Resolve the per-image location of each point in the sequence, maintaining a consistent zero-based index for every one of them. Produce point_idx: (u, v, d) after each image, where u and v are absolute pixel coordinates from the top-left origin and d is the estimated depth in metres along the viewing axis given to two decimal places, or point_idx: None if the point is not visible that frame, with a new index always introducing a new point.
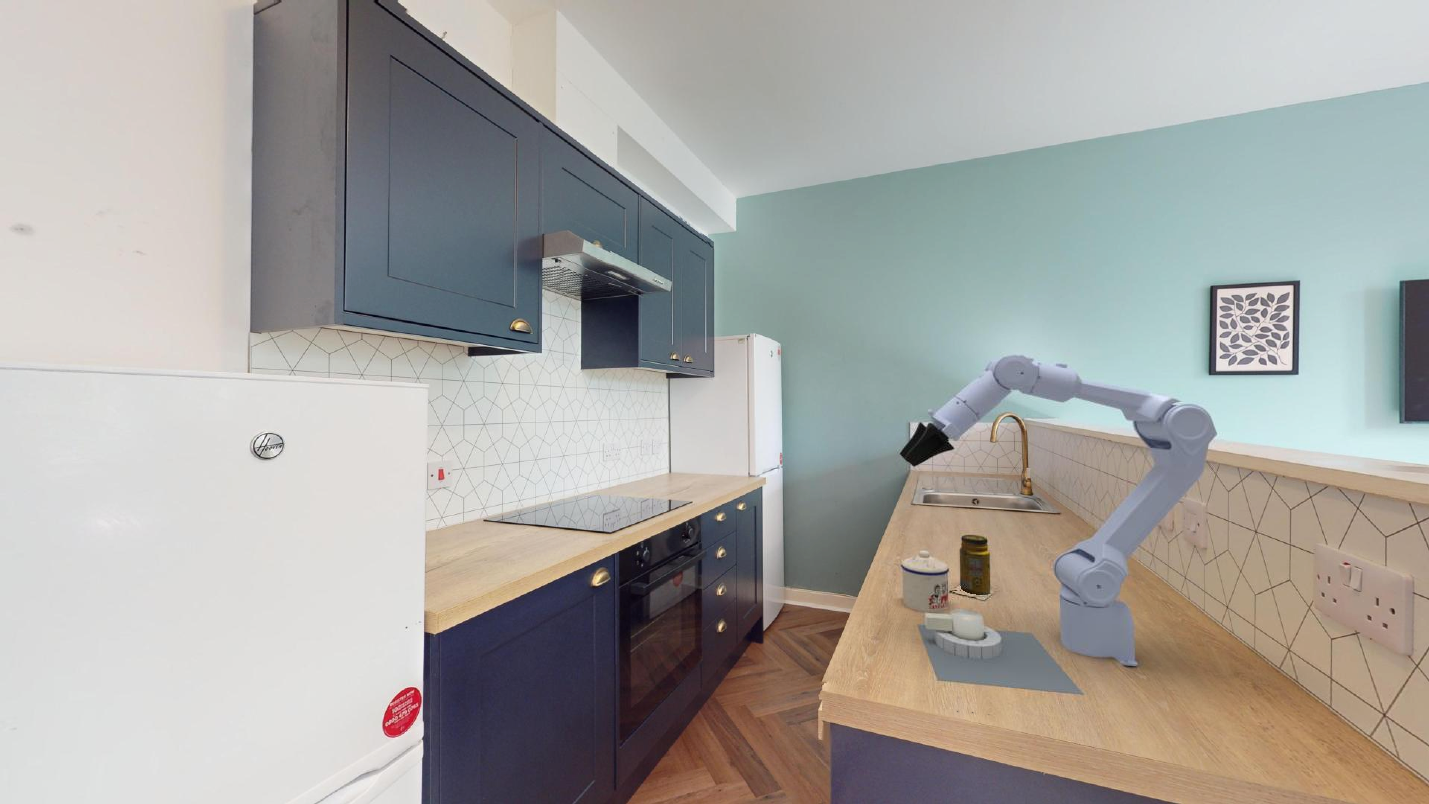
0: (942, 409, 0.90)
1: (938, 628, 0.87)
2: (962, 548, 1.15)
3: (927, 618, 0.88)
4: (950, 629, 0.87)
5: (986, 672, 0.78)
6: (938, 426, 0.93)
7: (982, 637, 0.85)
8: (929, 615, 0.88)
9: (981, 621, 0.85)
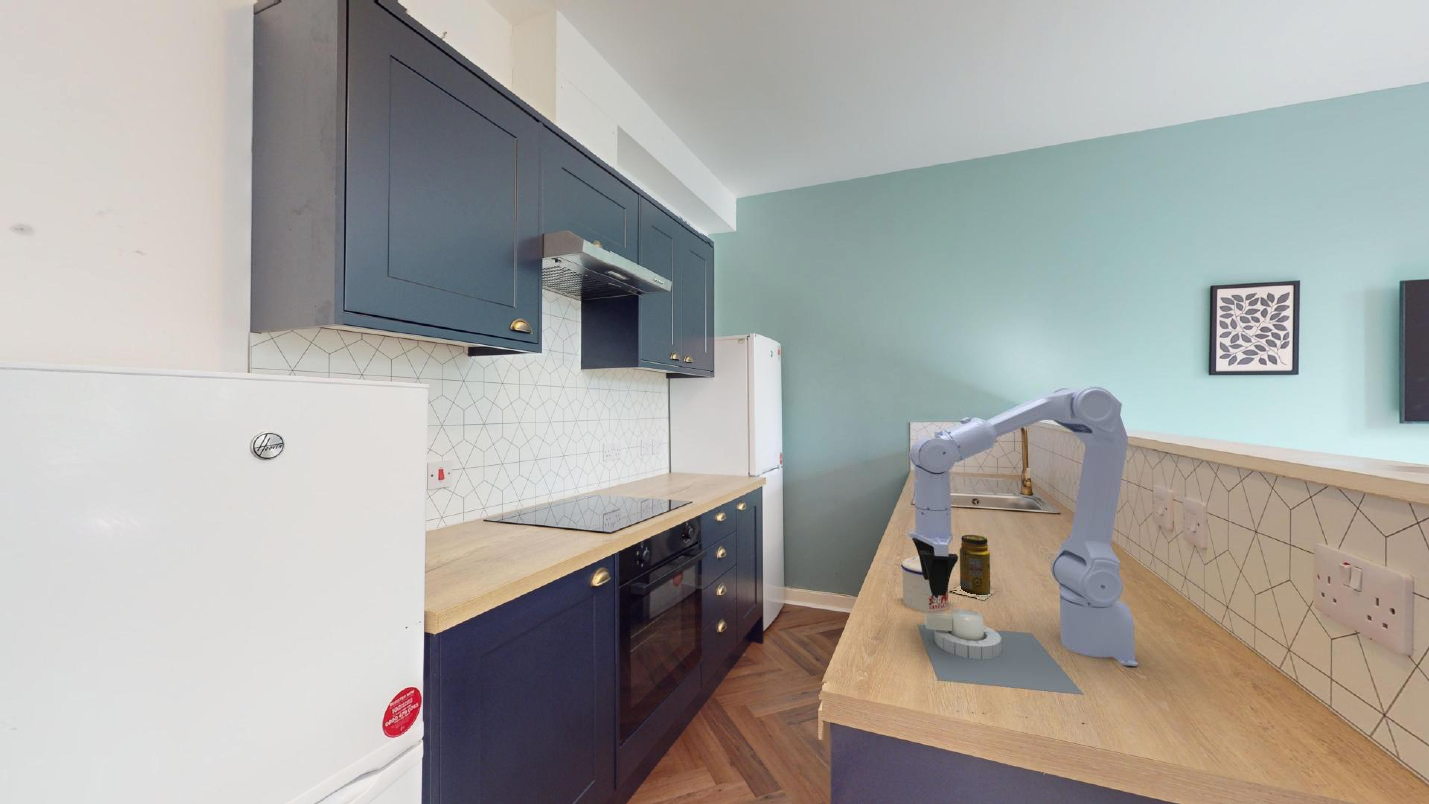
0: (917, 526, 0.88)
1: (938, 628, 0.87)
2: (962, 548, 1.15)
3: (927, 618, 0.88)
4: (950, 629, 0.87)
5: (986, 672, 0.78)
6: None
7: (982, 637, 0.85)
8: (929, 615, 0.88)
9: (981, 621, 0.85)
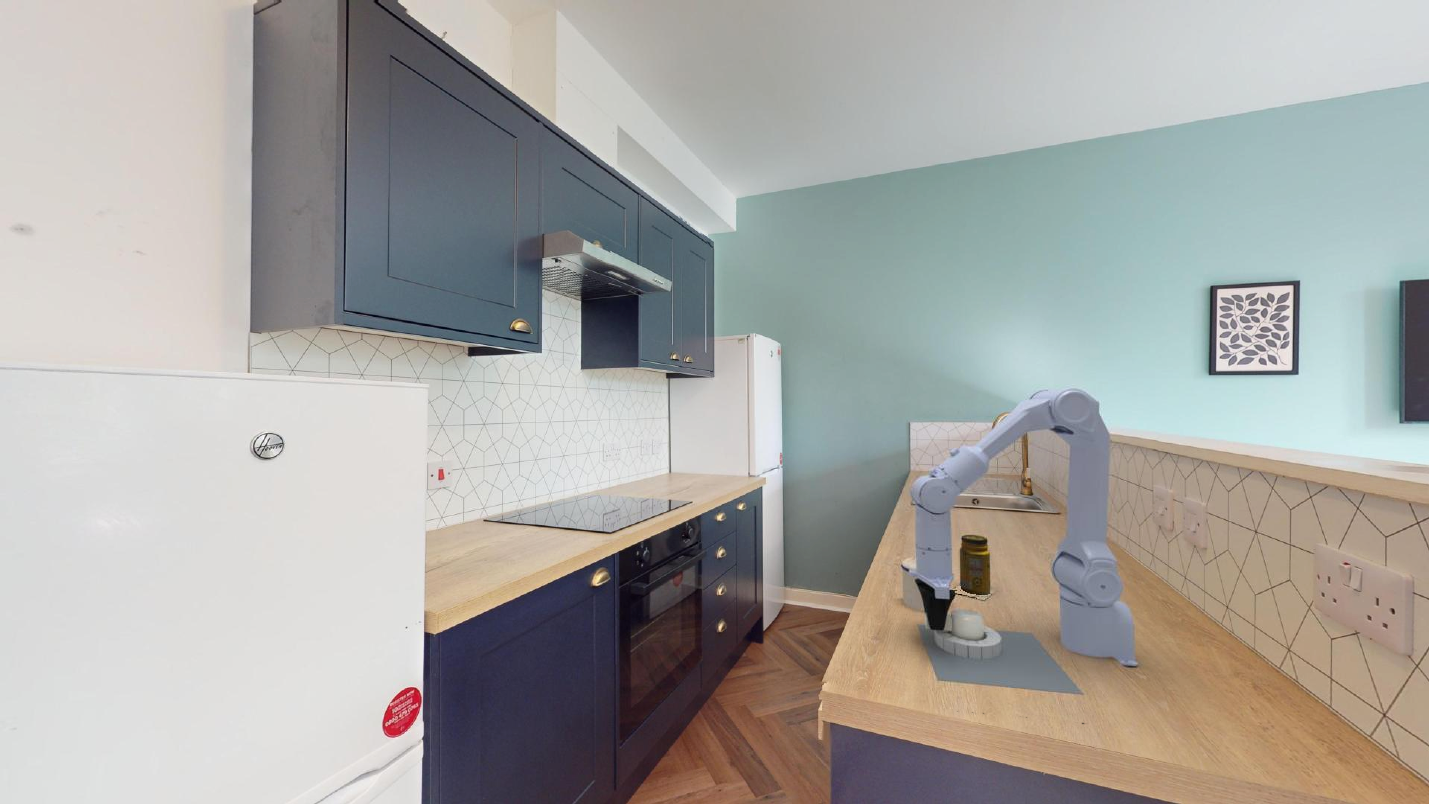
0: (918, 565, 0.88)
1: None
2: (962, 548, 1.15)
3: (927, 618, 0.88)
4: (950, 629, 0.87)
5: (986, 672, 0.78)
6: None
7: (982, 637, 0.85)
8: None
9: (981, 621, 0.85)
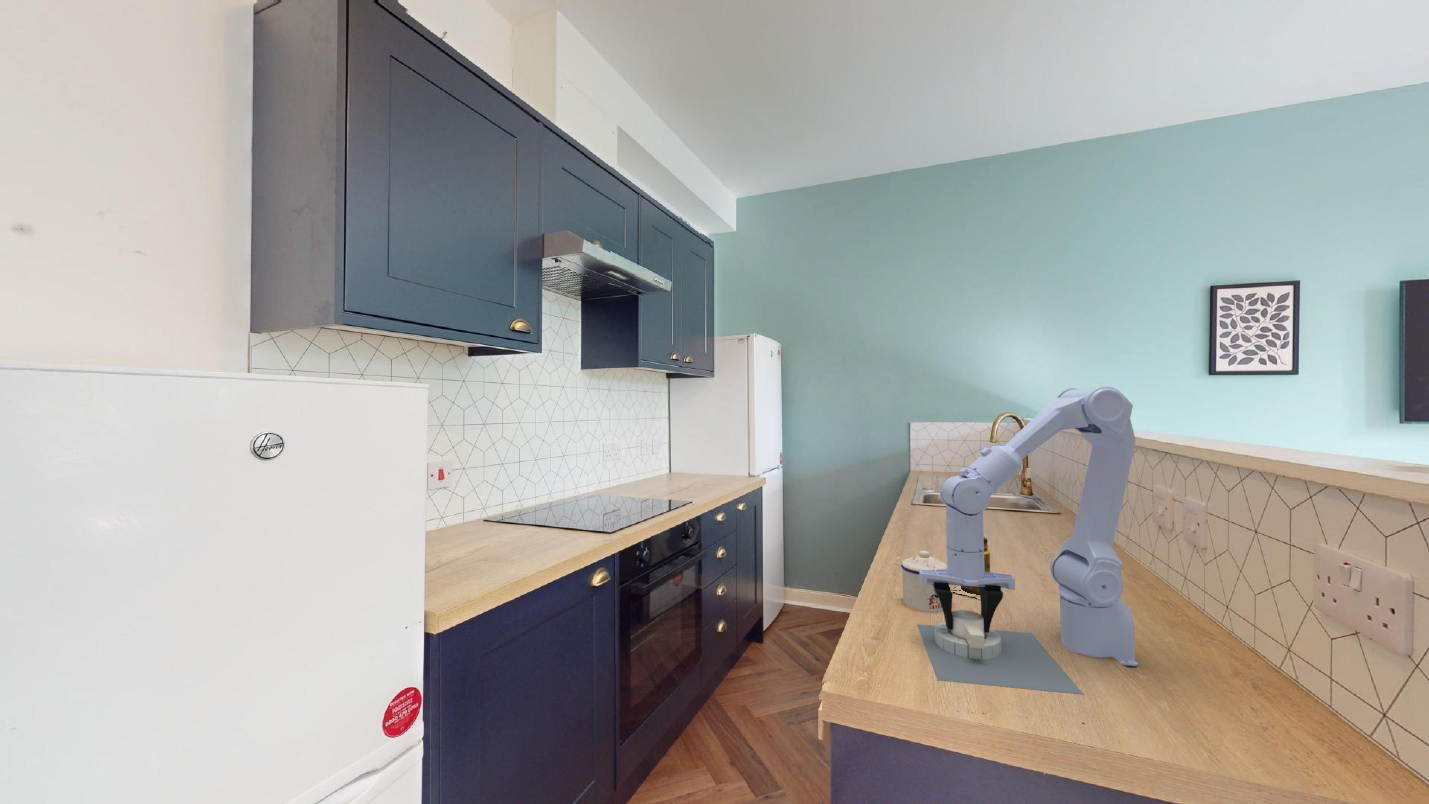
0: (975, 571, 0.84)
1: None
2: None
3: (983, 636, 0.80)
4: None
5: (986, 672, 0.78)
6: None
7: None
8: (977, 633, 0.81)
9: None
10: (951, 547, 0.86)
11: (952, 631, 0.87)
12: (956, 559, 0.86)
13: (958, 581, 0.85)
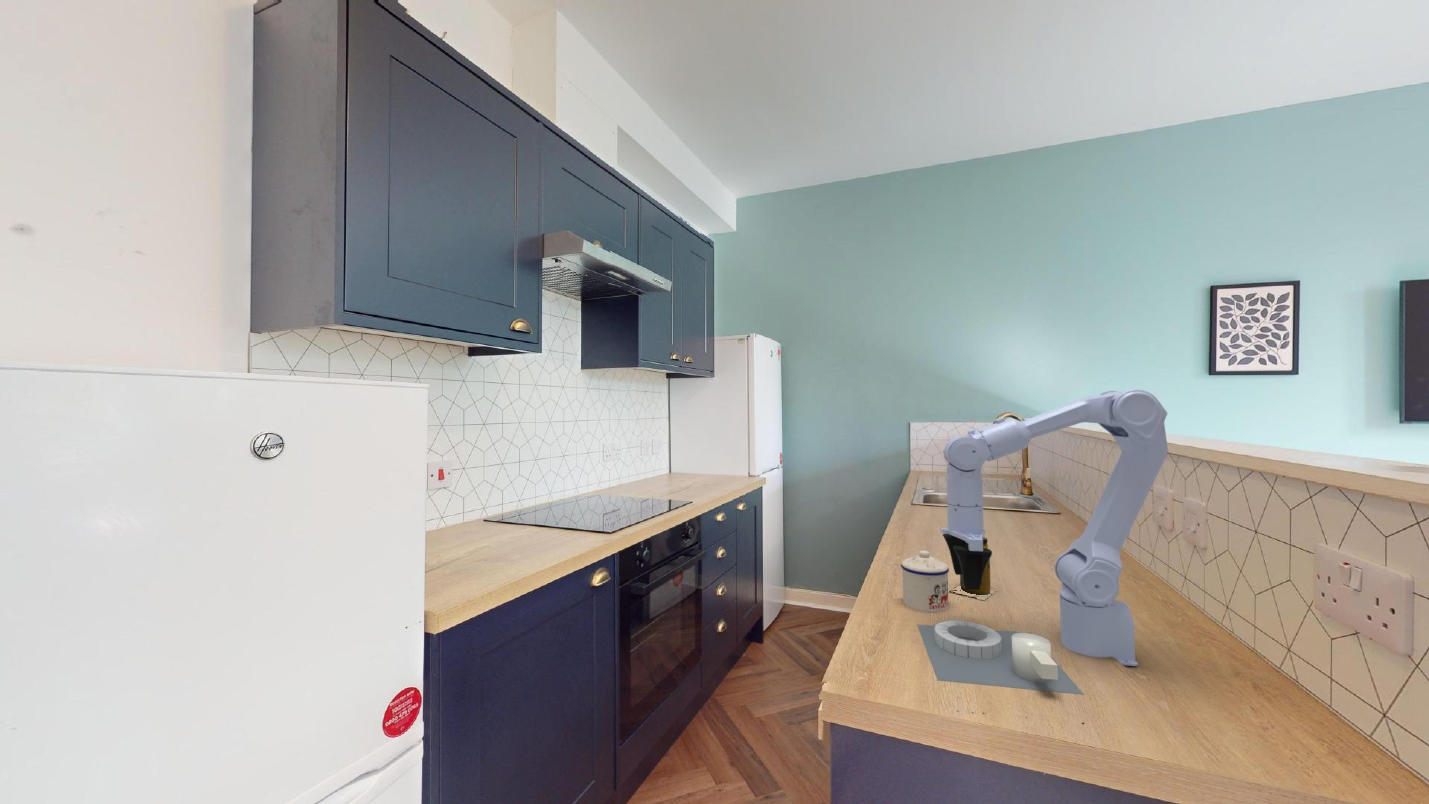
0: (950, 522, 0.91)
1: None
2: None
3: (1056, 666, 0.71)
4: None
5: (986, 672, 0.78)
6: None
7: None
8: (1048, 662, 0.72)
9: None
10: (949, 502, 0.91)
11: (1014, 658, 0.78)
12: None
13: None
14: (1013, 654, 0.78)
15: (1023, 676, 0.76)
